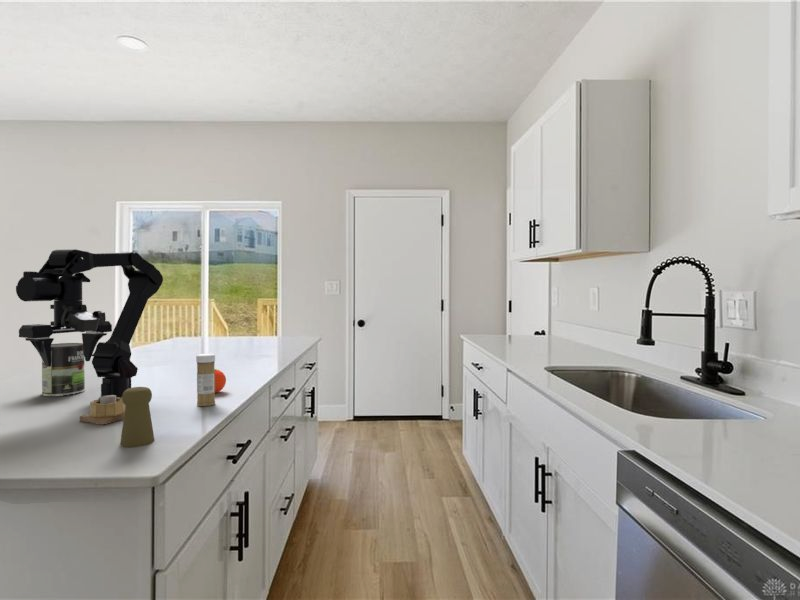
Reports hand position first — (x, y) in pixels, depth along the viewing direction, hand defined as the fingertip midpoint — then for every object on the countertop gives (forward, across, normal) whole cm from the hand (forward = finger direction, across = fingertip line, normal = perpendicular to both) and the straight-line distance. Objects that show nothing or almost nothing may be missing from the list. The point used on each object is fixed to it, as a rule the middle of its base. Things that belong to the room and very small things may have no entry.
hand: (68, 363), depth 114 cm
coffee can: (+12, +13, +23) cm, 29 cm away
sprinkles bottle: (+12, +19, -25) cm, 34 cm away
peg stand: (+12, 0, -14) cm, 18 cm away
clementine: (+12, +31, -16) cm, 37 cm away
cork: (+12, -9, -35) cm, 38 cm away
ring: (+11, 0, -14) cm, 18 cm away
